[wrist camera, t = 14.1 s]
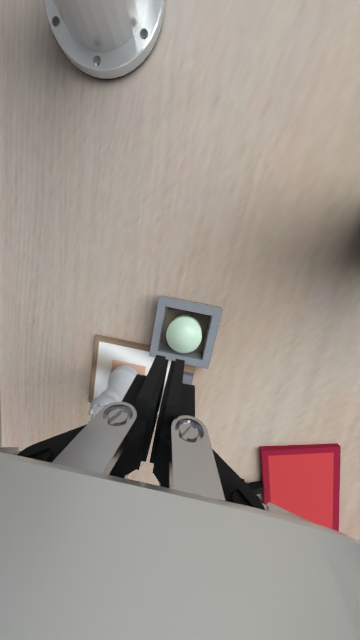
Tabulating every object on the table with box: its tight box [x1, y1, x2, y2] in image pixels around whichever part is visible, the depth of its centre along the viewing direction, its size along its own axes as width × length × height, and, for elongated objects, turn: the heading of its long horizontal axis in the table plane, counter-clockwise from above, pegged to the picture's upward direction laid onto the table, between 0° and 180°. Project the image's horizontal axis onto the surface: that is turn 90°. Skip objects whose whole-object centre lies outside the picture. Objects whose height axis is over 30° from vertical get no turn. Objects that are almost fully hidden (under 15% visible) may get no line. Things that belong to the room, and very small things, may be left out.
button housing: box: [149, 296, 222, 369], centre depth 25 cm, size 8×8×2 cm
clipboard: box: [89, 335, 196, 418], centre depth 28 cm, size 11×15×2 cm
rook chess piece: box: [89, 365, 139, 420], centre depth 24 cm, size 4×4×8 cm
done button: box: [166, 314, 202, 353], centre depth 25 cm, size 4×4×3 cm
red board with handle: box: [242, 444, 340, 532], centre depth 31 cm, size 30×3×15 cm
